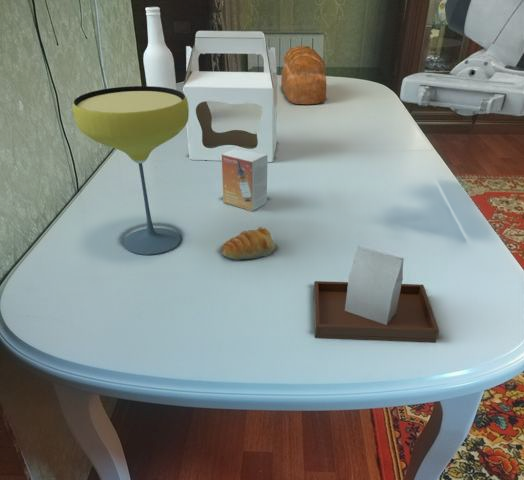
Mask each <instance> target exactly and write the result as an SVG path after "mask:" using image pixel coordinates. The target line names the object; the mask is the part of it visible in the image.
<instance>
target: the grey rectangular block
mask: <svg viewBox="0 0 524 480" xmlns="http://www.w3.org/2000/svg"><path fill="white" fill-rule="evenodd" d="M403 273H404V258H403V257H400V256H397V255H393V254H388V253H385V252H382V251H378V250H375V249H371V248H367V247H364V246H360V245H358V246H357V247H356V251H355V254H354V259H353V262H352V266H351V268H350V272H349V275H348V281H347V282H348V288H347V296H346V304H345V311H347V312H350V313H353V314H356V315H359V316H362V317H365V318H367V319H370V320H373V321H376V322H379V323H382V324H385V325H387V324H388V322H389V321H390V320H391V319H392V317H393V316H394V315H395V313H396V310H397V305H398V300H399V295H400V290H401V285H402V284H403V280H404V279H403V278H404V274H403Z"/></svg>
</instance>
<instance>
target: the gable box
mask: <svg viewBox="0 0 524 480" xmlns="http://www.w3.org/2000/svg"><path fill="white" fill-rule="evenodd" d="M201 54H202V55H206V54H232V55H236V54H237V55H261V56H262V59H263V71H243V70H242V71H241V70H240V71H239V70H234V71H232V70H200V63H199V62H200V61H199V57H200V55H201ZM185 57H186V58H185V59H186V60H185V61H186V65H185V67H186V70H185V71H186V73H185V77H184V81H183V85H182V90H183V91H182V93H184V94H185V96H186V98H187V102H188V109H189V116H188V122H187V124H186V125H185V126H186V135H187V142H188V143H187V146H188V158H189V160H190V161H205V160H207V161H208V162H209V161H210V162H222V154H224V153H226V152H228V151H231V150H233V149H236V148H240V149H243V150H247V151H251V152H256V153H260V154H267V163H274V158H275V154H276V150H277V138H278V137H277V134H278V133H277V131H278V129H277V128H278V126H277V125H278V74H277V73H278V70H277V52H276V46H271V47H269V45H268V44H267V41H266V35H265V33H264V32H263V31H261V30H198V31H196V33H195V37H194V44H193V45H192V46H191V45H186V46H185ZM207 102H218V103H223V104H228V105H242V104H243V105H244V104H254V105H257V106H259V107H260V108H261V110H262V111H261V116H260V119H259V122H258V125H257V129H256V133H251V132H249V131H246V130H243V129H232V130H231V129H230V130H226V131H221V132H216V131H215V130H213V128H212V123H213V122H212V121H213V117H212V112H211V109H210V106H209V105H208V103H207Z"/></svg>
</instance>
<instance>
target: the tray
mask: <svg viewBox="0 0 524 480" xmlns="http://www.w3.org/2000/svg"><path fill="white" fill-rule="evenodd" d="M313 282H314V284H313V318H314V320H313V321H314V322H313V323H314V325H313V326H314V338H316V339H317V338H319V339H342V340H343V339H344V340H365V341H366V340H369V341H393V342H419V343H422V342H423V343H436V342H437V340H438V336H439V333H440V329H439V326H438V323H437V320H436V318H435V315H434V312H433V308H432V305H431V303H430V300H429V297H428V295H427V291H426V289H425V286H424V284H418V283H417V284H416V283H415V284H414V283H409V284H408V283H402V285H401V290H400V295H399V300H398V305H397V310H396V313H395V315H394V316H393V317H392V319H391V320H390V321H389V322H388V324H387V325H385V324H382V323H379V322H376V321H373V320H370V319H367V318H365V317H362V316H359V315H356V314H353V313H350V312H347V311H345V304H346V296H347V288H348V281H327V280H326V281H321V280H319V281H318V280H315V281H313Z"/></svg>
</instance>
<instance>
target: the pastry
mask: <svg viewBox="0 0 524 480" xmlns="http://www.w3.org/2000/svg"><path fill="white" fill-rule="evenodd" d="M275 249H276V245H275V242H274V240H273V237H272V234H271V232H270V231H269V230H268V229H267V228H265V227H259V226H258V228H257V229H250V230H243V231H240V233H239V234H238V235H236V236H234V237H232V238H229V240H227V241H226V242H224V243H223V244H222V248H221V254H222V255H223V256H224V257H226V258H228V259H230V260H235V261H242V260H253V259H259V258H262V257H268V256H270V255H272V254H273V252H274V251H275Z"/></svg>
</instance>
